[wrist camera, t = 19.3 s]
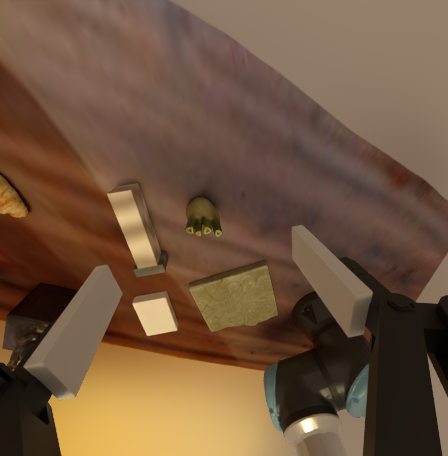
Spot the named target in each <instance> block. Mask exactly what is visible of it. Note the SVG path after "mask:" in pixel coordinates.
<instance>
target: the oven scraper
mask: <svg viewBox="0 0 448 456" xmlns="http://www.w3.org/2000/svg"><path fill="white" fill-rule="evenodd" d="M107 195H108V197H109V200H110V202H111V205H112V207H113V209H114V212H115V214H116V217H117V219H118V221H119V224H120V226H121V229H122V231H123V234H124V236H125V238H126V241H127V243H128V246H129V248H130V250H131V253H132V255H133V258H134V260H135V262H136V265H135V267H134V269H133V270H134V273H135V275H136V277H141V276H146V275H152V274H157V273H163V272H165V270H166V266H167V261H168V256H167V253H166V251H165V252H161V249H160V246H159V243H158V240H157V237H156V234H155V231H154V228H153V225H152V222H151V219H150V216H149V213H148V210H147V207H146V204H145V201H144V198H143V195H142V192H141V189H140V186H139V183H135V184H129V185H123V186H117V187H116V188H115V189H113V190H112V191H111V192H109V193H108V194H107Z"/></svg>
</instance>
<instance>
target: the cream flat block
mask: <svg viewBox="0 0 448 456" xmlns="http://www.w3.org/2000/svg"><path fill="white" fill-rule="evenodd" d="M132 304H133V306H134V308H135V310H136V313H137V315H138V317H139V319H140V321H141V323H142V325H143V328H144V330H145V332H146V334H147V336H150V335H155V334H160V333H166V332H171V331H176V330H177V328H178V322H177V319H176V316H175V313H174V310H173V307H172V305H171V302H170V299H169V296H168V293H167V291H164V292H158V293H153V294H147V295H142V296H136V297H135V298H134V300H133V303H132Z"/></svg>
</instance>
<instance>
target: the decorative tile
mask: <svg viewBox="0 0 448 456" xmlns="http://www.w3.org/2000/svg"><path fill="white" fill-rule="evenodd" d="M189 290H190V292H191V294H192V296H193V298H194V300H195V302H196V304H197V305H198V308H199V309H200V311H201V313H202V315H203V317H204V319H205V321H206V323H207V325H208V326H209V328H210V330H211V331H212V332H214V331H217V330H220V329H223V328H226V327H230V326H240V325H242V324H245V325H256V324H257V323H259V322H262V321H265V320H268V319H269V318H271V317H273V316H277V315H278V312H277V307H276V302H275V297H274V292H273V288H272V284H271V279H270V275H269V270H268V266H267V263H266V261H261V262H258V263H255V264H251V265H248V266H245V267H241V268H238V269H235V270H231V271H228V272H225V273H221V274H218V275H215V276H211V277H208V278H205V279H201V280H198V281H195V282H191V283H190V284H189Z"/></svg>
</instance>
